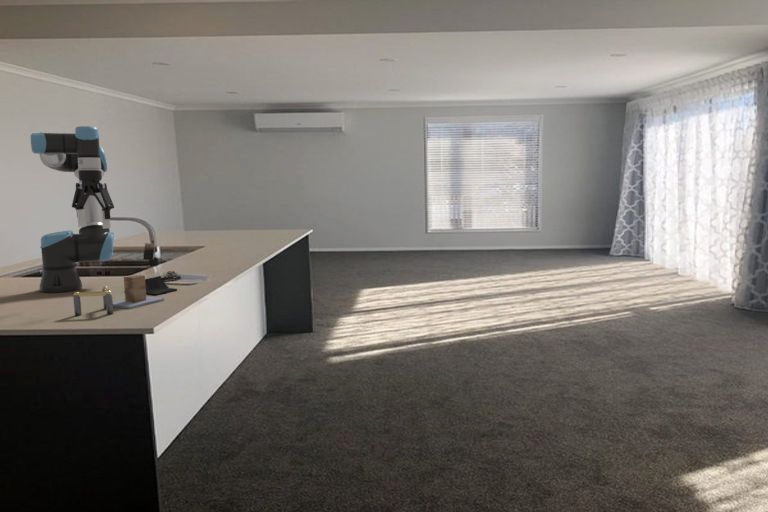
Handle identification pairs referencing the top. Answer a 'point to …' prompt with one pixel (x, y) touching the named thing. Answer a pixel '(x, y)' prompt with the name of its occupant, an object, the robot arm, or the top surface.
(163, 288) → the handheld gaming console
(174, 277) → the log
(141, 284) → the walnut block
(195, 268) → the top surface
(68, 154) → the robot arm
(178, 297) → the top surface
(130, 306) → the pad
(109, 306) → the grey and gold frame
